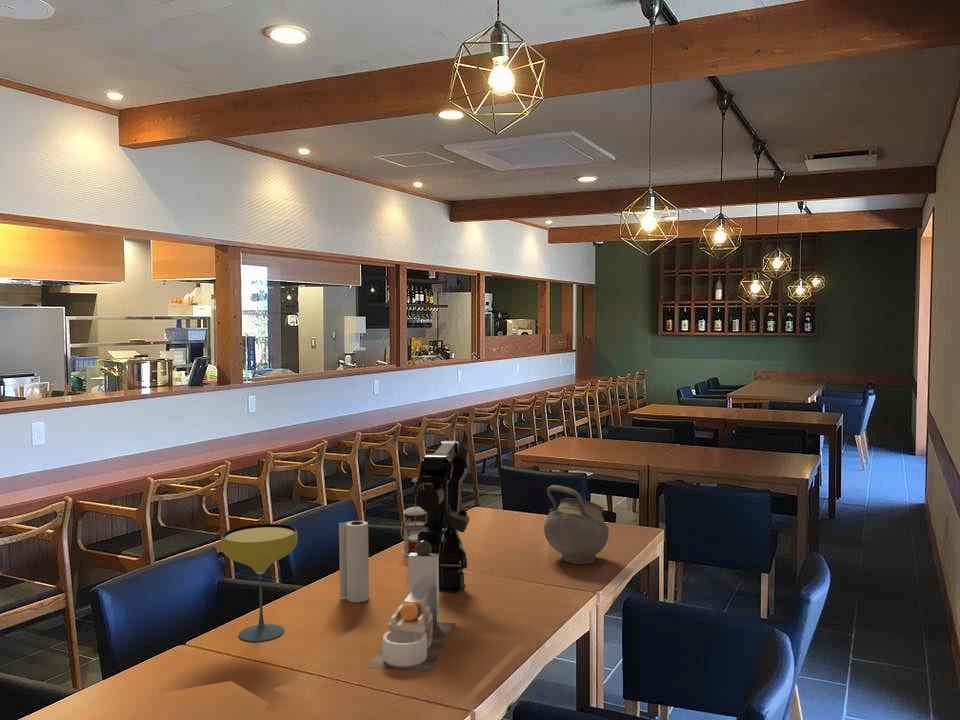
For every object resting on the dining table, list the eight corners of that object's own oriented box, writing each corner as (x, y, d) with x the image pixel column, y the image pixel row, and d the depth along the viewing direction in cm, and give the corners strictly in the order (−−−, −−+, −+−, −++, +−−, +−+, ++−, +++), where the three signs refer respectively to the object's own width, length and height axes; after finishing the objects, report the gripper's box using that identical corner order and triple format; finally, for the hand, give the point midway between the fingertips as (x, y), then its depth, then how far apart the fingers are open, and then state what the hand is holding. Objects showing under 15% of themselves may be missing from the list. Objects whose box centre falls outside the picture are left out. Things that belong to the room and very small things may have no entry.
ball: (397, 622, 177) (397, 604, 177) (406, 616, 181) (405, 599, 181) (412, 624, 176) (412, 607, 175) (421, 618, 179) (421, 601, 179)
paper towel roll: (373, 599, 217) (372, 522, 216) (356, 604, 212) (355, 526, 211) (357, 593, 221) (356, 518, 221) (340, 598, 217) (338, 522, 216)
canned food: (404, 574, 238) (403, 538, 238) (415, 567, 245) (415, 532, 245) (426, 577, 235) (426, 541, 235) (438, 569, 242) (437, 534, 242)
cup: (375, 662, 172) (374, 640, 172) (397, 646, 181) (397, 625, 181) (413, 670, 168) (413, 647, 168) (434, 653, 177) (434, 631, 177)
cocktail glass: (219, 626, 197) (217, 528, 196) (292, 615, 205) (290, 520, 204) (226, 653, 181) (224, 546, 180) (305, 640, 188) (303, 537, 187)
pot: (564, 573, 238) (563, 491, 237) (532, 555, 256) (532, 479, 255) (621, 564, 246) (621, 485, 245) (587, 548, 265) (586, 474, 264)
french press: (436, 551, 263) (435, 476, 262) (415, 559, 253) (414, 482, 252) (412, 546, 268) (411, 474, 267) (391, 555, 258) (390, 479, 257)
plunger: (412, 622, 195) (411, 537, 194) (439, 623, 194) (438, 538, 193) (398, 643, 182) (397, 553, 181) (427, 645, 181) (426, 554, 180)
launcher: (400, 624, 197) (400, 586, 197) (455, 627, 195) (454, 589, 195) (366, 673, 170) (366, 629, 169) (429, 677, 168) (429, 632, 167)
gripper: (460, 511, 197) (460, 572, 197) (472, 495, 215) (473, 552, 216) (416, 510, 198) (417, 571, 199) (433, 494, 217) (433, 550, 217)
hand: (437, 560), depth 208 cm, fingers open, 4 cm apart
